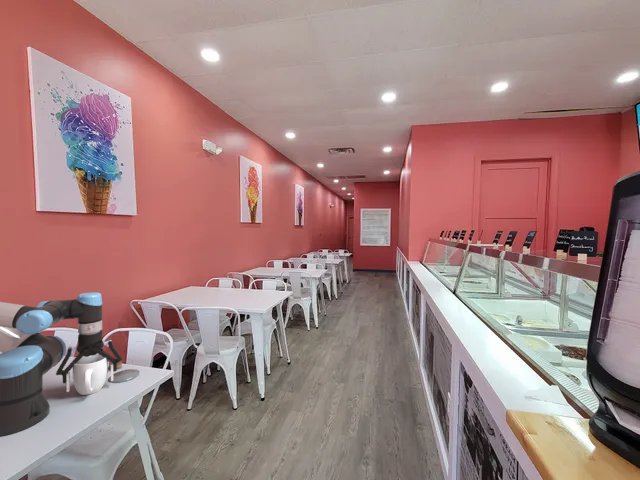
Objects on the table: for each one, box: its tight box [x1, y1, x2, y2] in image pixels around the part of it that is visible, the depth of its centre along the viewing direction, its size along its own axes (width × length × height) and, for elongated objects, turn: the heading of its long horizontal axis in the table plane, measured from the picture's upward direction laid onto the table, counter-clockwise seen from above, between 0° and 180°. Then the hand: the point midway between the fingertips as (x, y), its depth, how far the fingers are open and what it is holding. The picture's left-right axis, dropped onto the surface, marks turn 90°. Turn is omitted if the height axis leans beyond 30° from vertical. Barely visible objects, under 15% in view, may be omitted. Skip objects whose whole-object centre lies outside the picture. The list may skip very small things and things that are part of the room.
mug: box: [72, 353, 109, 396], centre depth 112 cm, size 15×11×13 cm
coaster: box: [108, 368, 140, 384], centre depth 125 cm, size 11×11×1 cm
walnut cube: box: [108, 357, 123, 371], centre depth 133 cm, size 4×4×4 cm
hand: (91, 384), depth 113 cm, fingers open, 13 cm apart
